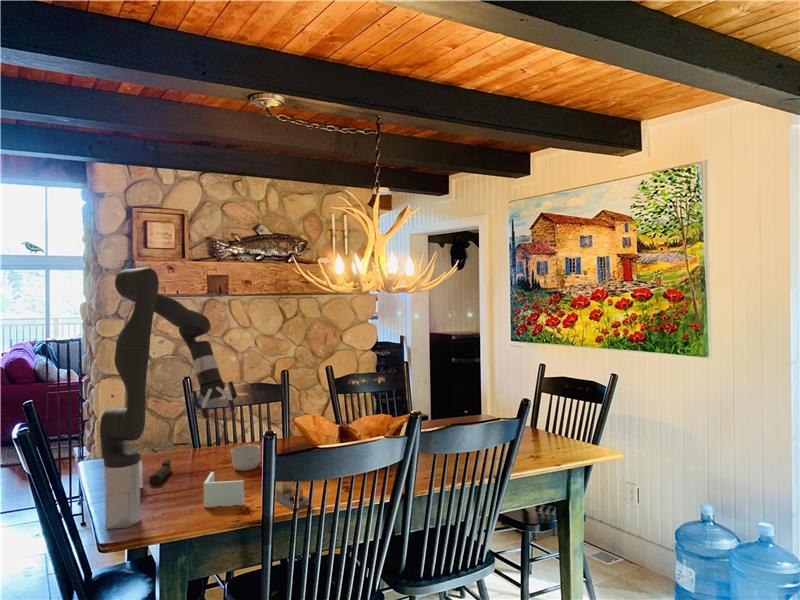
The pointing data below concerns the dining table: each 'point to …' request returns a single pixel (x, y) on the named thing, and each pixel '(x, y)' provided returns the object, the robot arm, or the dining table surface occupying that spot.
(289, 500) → the body
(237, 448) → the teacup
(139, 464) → the jar
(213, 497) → the right angle wall
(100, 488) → the dining table surface
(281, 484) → the lever cap
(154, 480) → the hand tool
